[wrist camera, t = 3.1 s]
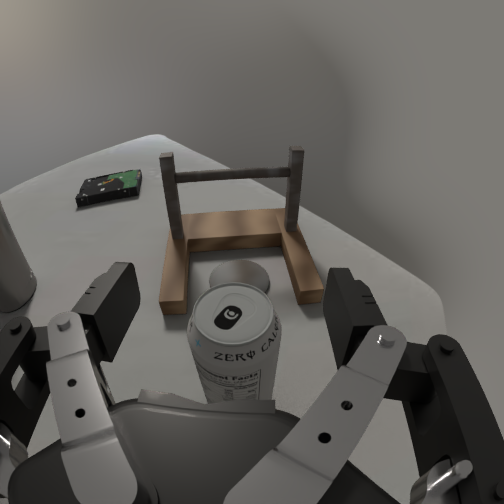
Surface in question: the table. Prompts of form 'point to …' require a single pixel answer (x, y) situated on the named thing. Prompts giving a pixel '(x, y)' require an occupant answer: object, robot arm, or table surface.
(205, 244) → the wooden crossbar stand
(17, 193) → the table surface
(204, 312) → the energy drink can
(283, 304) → the table surface
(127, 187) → the disk drive
